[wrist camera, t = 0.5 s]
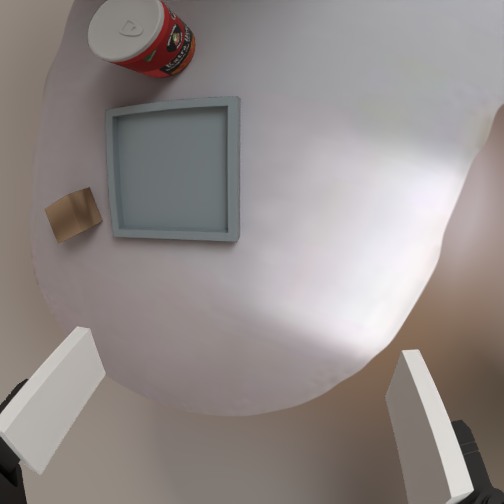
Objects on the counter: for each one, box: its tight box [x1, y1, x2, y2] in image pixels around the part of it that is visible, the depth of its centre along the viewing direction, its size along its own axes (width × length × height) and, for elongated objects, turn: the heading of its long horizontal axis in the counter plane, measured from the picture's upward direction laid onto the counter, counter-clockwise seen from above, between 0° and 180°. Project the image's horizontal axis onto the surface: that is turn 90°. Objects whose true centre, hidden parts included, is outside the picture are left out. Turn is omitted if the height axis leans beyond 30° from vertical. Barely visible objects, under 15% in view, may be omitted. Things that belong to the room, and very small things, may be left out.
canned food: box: [87, 0, 195, 78], centre depth 24 cm, size 8×8×11 cm
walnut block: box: [45, 187, 103, 244], centre depth 36 cm, size 5×5×5 cm
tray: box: [106, 96, 240, 242], centre depth 34 cm, size 16×16×2 cm
